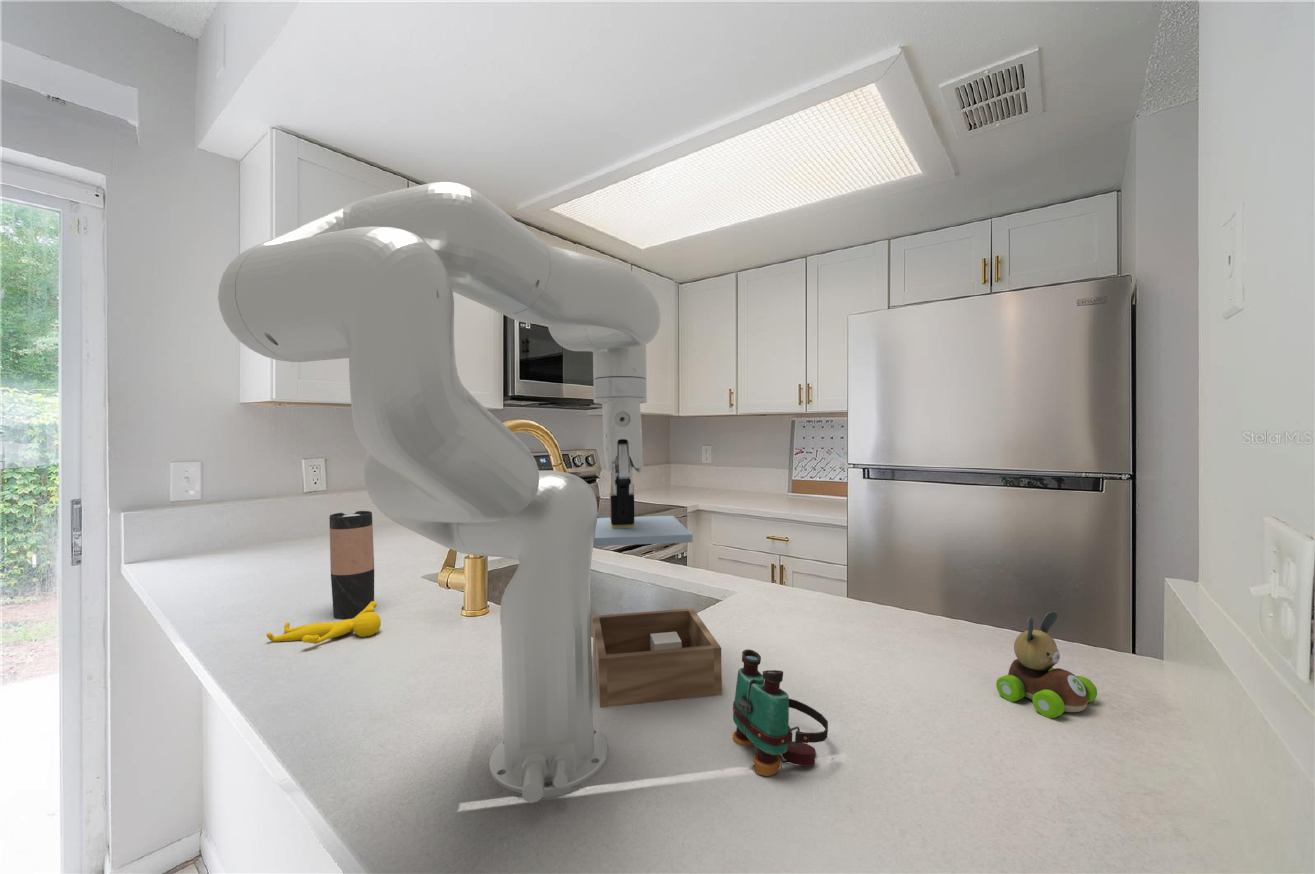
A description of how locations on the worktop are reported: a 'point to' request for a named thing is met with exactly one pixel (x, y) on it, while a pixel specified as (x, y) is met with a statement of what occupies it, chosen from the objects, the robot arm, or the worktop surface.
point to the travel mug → (351, 563)
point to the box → (654, 658)
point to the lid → (641, 530)
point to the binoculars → (770, 719)
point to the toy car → (1044, 674)
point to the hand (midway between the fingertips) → (621, 520)
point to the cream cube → (665, 641)
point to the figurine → (332, 628)
